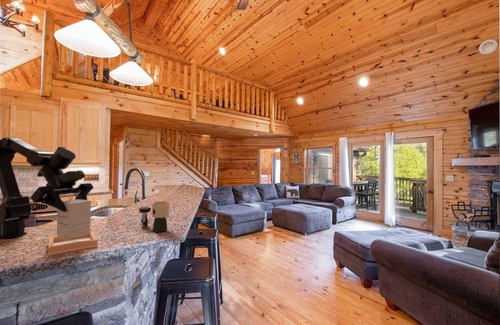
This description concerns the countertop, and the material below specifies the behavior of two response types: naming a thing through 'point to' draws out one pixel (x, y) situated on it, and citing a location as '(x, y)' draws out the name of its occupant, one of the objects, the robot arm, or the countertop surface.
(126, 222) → the countertop surface
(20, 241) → the countertop surface
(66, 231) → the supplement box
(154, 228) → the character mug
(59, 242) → the shallow wooden tray
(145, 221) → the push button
